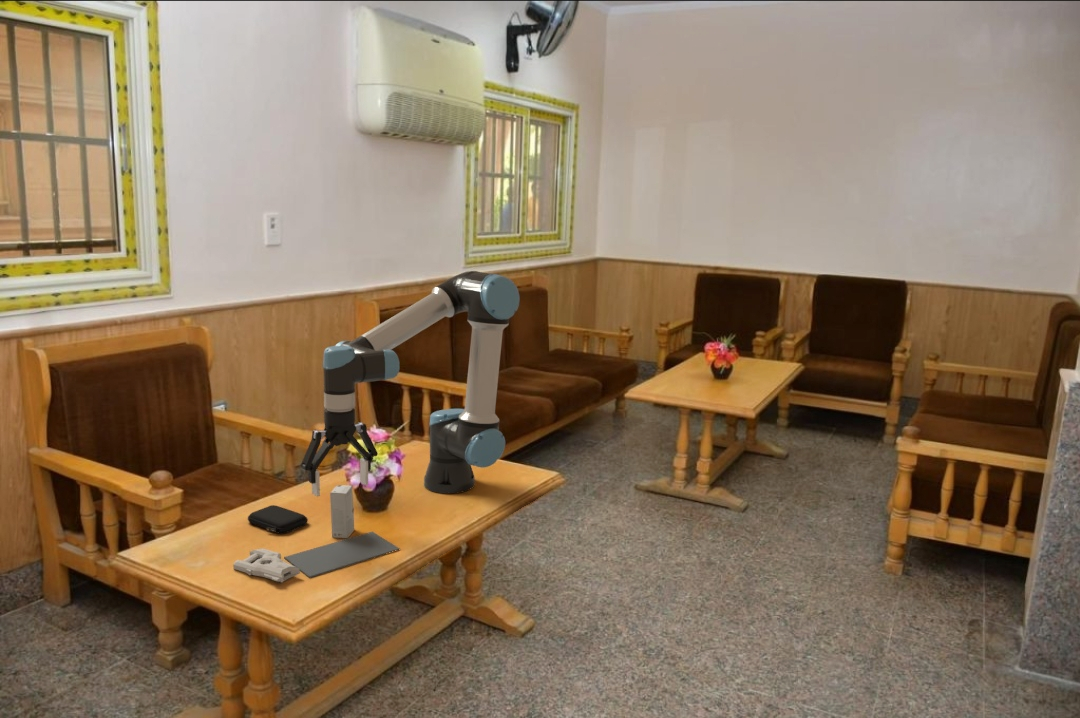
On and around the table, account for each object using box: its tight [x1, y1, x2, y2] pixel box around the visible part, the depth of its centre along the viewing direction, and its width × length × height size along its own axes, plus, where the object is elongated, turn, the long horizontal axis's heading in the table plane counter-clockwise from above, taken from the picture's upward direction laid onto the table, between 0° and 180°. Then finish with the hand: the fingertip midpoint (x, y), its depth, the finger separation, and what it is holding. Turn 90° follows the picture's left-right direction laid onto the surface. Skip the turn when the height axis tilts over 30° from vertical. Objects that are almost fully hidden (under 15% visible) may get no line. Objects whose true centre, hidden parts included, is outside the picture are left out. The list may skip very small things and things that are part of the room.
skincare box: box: [329, 484, 355, 539], centre depth 214 cm, size 6×4×12 cm
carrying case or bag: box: [247, 504, 309, 535], centre depth 220 cm, size 11×3×15 cm
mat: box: [284, 531, 401, 579], centre depth 204 cm, size 24×13×1 cm, turn 132°
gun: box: [232, 547, 301, 583], centre depth 194 cm, size 18×3×10 cm
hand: (340, 489), depth 213 cm, fingers open, 13 cm apart
